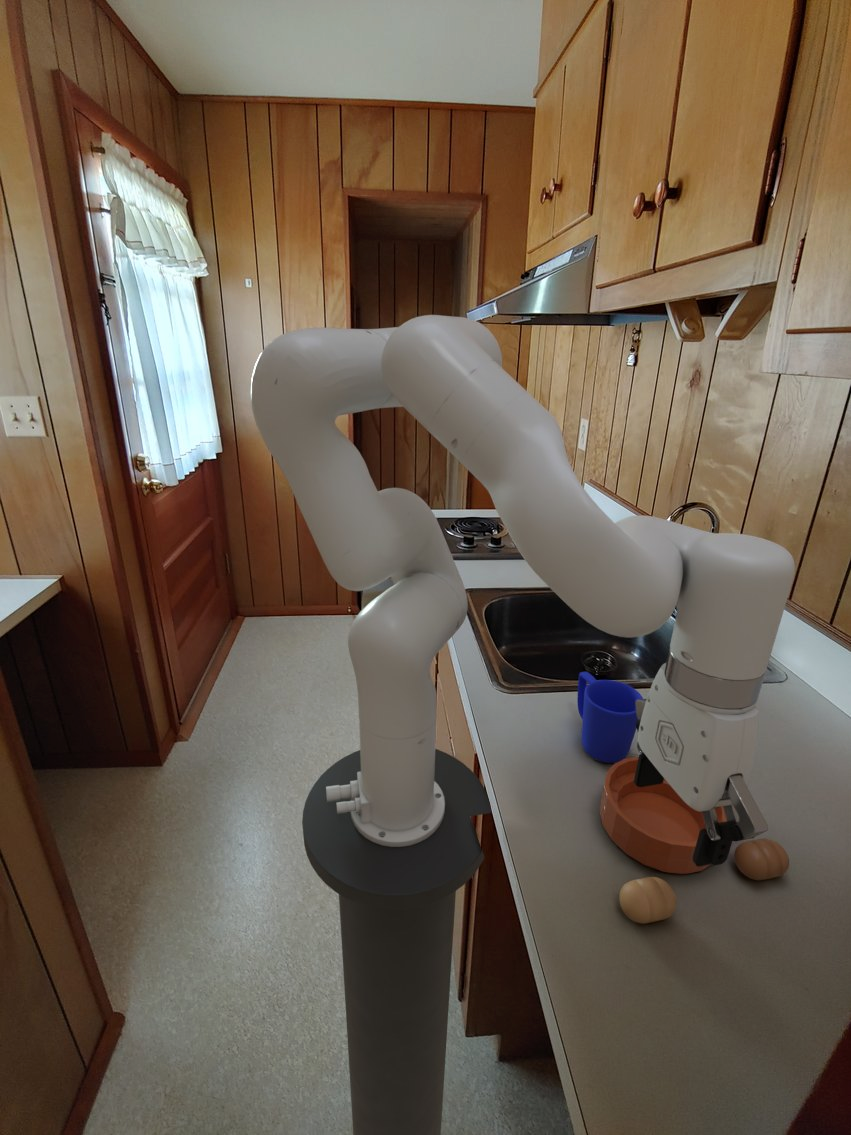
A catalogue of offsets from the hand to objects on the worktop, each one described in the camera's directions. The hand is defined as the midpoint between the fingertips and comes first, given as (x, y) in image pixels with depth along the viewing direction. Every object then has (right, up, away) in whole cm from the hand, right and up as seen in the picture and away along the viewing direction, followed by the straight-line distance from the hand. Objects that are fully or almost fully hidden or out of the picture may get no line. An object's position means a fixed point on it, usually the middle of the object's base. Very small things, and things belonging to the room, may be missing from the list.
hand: (676, 819), depth 55 cm
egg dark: (+14, -11, +10) cm, 20 cm away
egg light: (-1, -12, +5) cm, 14 cm away
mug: (+1, -2, +30) cm, 30 cm away
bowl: (+5, -8, +16) cm, 18 cm away
